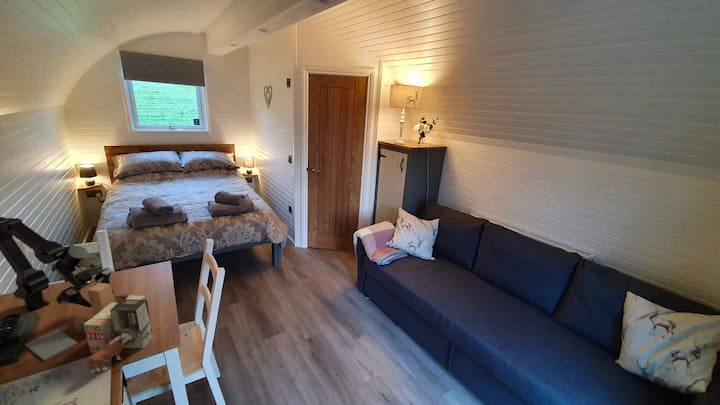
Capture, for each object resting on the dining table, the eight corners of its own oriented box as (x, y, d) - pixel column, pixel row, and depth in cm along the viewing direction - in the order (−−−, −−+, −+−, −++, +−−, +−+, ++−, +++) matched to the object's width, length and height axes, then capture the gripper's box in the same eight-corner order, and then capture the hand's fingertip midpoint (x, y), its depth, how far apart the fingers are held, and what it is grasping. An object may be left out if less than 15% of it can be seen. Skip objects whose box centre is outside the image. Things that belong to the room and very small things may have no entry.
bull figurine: (137, 350, 110) (133, 331, 107) (95, 379, 97) (90, 358, 95) (128, 346, 111) (124, 327, 108) (86, 375, 99) (80, 354, 96)
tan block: (94, 320, 122) (87, 289, 118) (105, 312, 127) (99, 282, 123) (105, 322, 122) (98, 291, 118) (116, 314, 127) (110, 284, 123)
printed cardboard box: (134, 314, 127) (129, 288, 124) (149, 315, 127) (145, 289, 124) (90, 353, 107) (82, 323, 103) (108, 354, 107) (101, 325, 103)
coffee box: (154, 336, 116) (148, 299, 112) (143, 348, 110) (136, 310, 106) (129, 335, 116) (122, 298, 111) (116, 348, 110) (108, 309, 105)
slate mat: (25, 345, 108) (25, 344, 108) (58, 330, 116) (58, 329, 116) (44, 361, 103) (44, 359, 103) (78, 343, 111) (77, 342, 110)
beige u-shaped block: (76, 331, 116) (73, 321, 115) (119, 302, 134) (117, 293, 132) (96, 334, 115) (94, 324, 114) (137, 305, 133) (135, 296, 131)
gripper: (55, 272, 109) (89, 303, 111) (104, 249, 127) (132, 276, 129) (41, 289, 112) (74, 318, 114) (91, 264, 130) (119, 290, 132)
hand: (102, 299), depth 122 cm, fingers open, 9 cm apart
